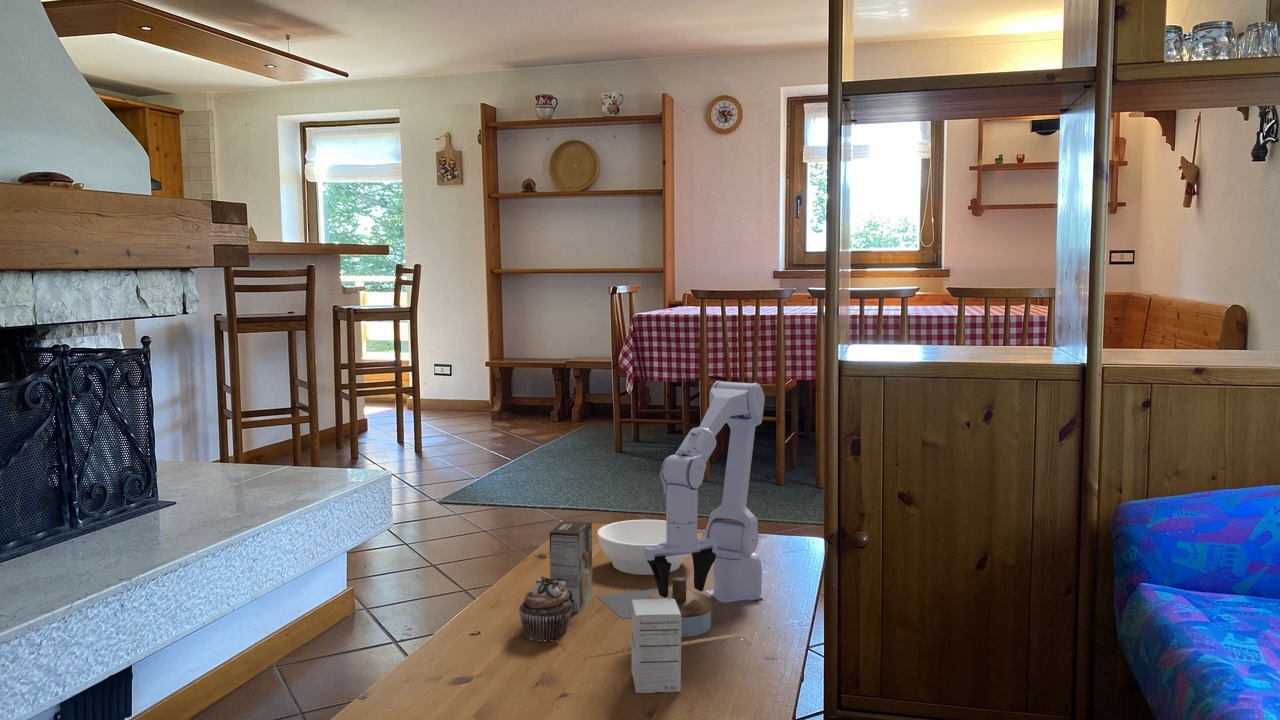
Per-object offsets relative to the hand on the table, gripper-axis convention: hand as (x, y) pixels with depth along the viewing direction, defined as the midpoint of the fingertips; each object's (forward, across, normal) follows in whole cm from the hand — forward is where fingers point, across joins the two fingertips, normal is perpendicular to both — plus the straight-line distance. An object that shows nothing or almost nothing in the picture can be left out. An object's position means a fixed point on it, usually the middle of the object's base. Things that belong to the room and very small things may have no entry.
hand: (681, 592), depth 167 cm
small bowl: (+7, 0, 0) cm, 7 cm away
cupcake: (+7, +23, -9) cm, 26 cm away
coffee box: (+7, +13, -20) cm, 25 cm away
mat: (+7, +1, -14) cm, 16 cm away
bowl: (+7, -12, -36) cm, 39 cm away
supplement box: (+7, +16, +19) cm, 25 cm away
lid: (+3, 0, -1) cm, 3 cm away
